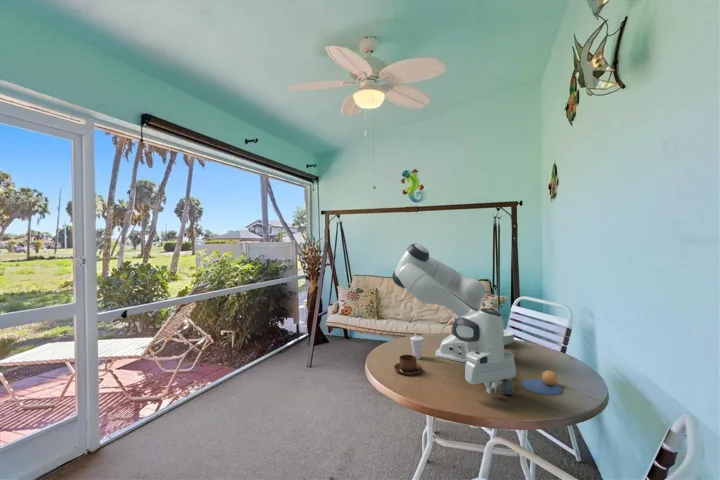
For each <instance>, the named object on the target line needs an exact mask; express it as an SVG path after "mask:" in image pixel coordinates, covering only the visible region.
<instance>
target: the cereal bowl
mask: <svg viewBox="0 0 720 480" xmlns="http://www.w3.org/2000/svg"><path fill="white" fill-rule="evenodd" d="M514 340H515V333H514V332H513V331H512V330H509V329H505V328H504V337H503V345H504V347H505V346H507V345H509V344H510V345H511V343H513V341H514Z"/></svg>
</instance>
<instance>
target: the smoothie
mask: <svg viewBox="0 0 720 480" xmlns="http://www.w3.org/2000/svg"><path fill="white" fill-rule="evenodd" d="M423 342H424V337H422V336H417V328H415V329H414V336H411V337H410V344H411V352H412V355H413V356H415V357H416V360H421V358H422V350H423Z"/></svg>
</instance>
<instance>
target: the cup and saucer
mask: <svg viewBox="0 0 720 480" xmlns="http://www.w3.org/2000/svg"><path fill="white" fill-rule="evenodd" d="M400 369H401V370H402V371H403V372H401V371H400ZM394 370H395V371H396V372H397V373H399V374H402V375H417V374H418V373H420V372H422V370H423V367H422V366H421V365H420V364H418V363H417V359H416V357H415V356H413V354H403V355H400V356H399V362H398V363H396V364H395V365H394Z"/></svg>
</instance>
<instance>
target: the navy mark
mask: <svg viewBox="0 0 720 480" xmlns="http://www.w3.org/2000/svg"><path fill="white" fill-rule="evenodd" d="M521 386H522V387H523V388H524V389H526V390H527V391H529V392H533V393H535V394H539V395H544V396H557V395H561V394H563V392H564V389H563V388H562V386H560V385H558V384H557V383H556V384H555V385H553V386H549V385H547V384H545V383H544V382H543V380H542V379H540V378H539V379H537V378H530V379H525V380H522V381H521Z"/></svg>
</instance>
